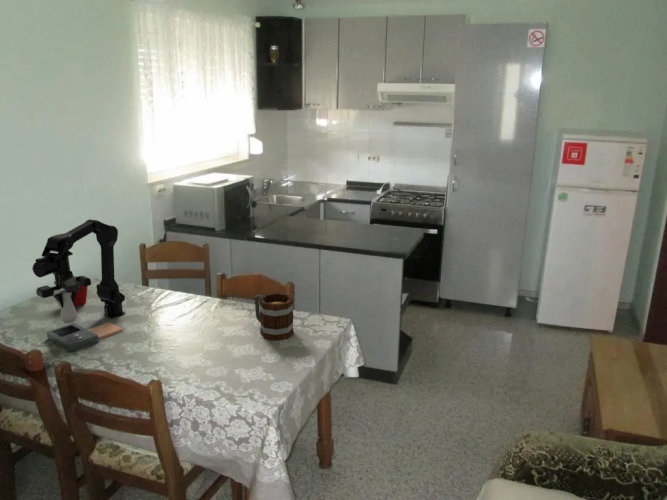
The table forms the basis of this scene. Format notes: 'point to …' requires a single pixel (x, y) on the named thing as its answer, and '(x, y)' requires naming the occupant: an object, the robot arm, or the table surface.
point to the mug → (275, 315)
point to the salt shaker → (67, 308)
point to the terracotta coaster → (105, 330)
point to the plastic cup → (81, 295)
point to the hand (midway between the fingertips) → (67, 307)
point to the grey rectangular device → (72, 337)
